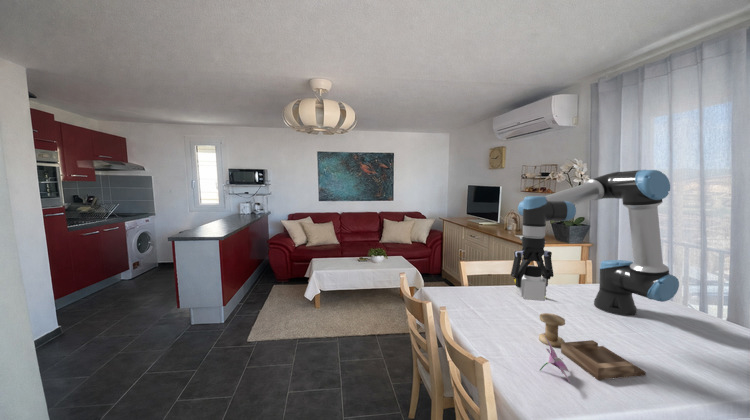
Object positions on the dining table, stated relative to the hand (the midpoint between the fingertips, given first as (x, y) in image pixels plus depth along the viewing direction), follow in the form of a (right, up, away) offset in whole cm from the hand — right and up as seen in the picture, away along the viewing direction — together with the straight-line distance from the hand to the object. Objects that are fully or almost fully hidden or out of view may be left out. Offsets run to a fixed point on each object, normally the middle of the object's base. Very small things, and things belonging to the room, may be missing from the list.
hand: (531, 294), depth 105 cm
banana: (+24, -13, +44) cm, 52 cm away
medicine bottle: (0, -1, 0) cm, 1 cm away
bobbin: (+6, -16, -3) cm, 18 cm away
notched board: (+13, -17, -16) cm, 27 cm away
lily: (-5, -18, -21) cm, 28 cm away
